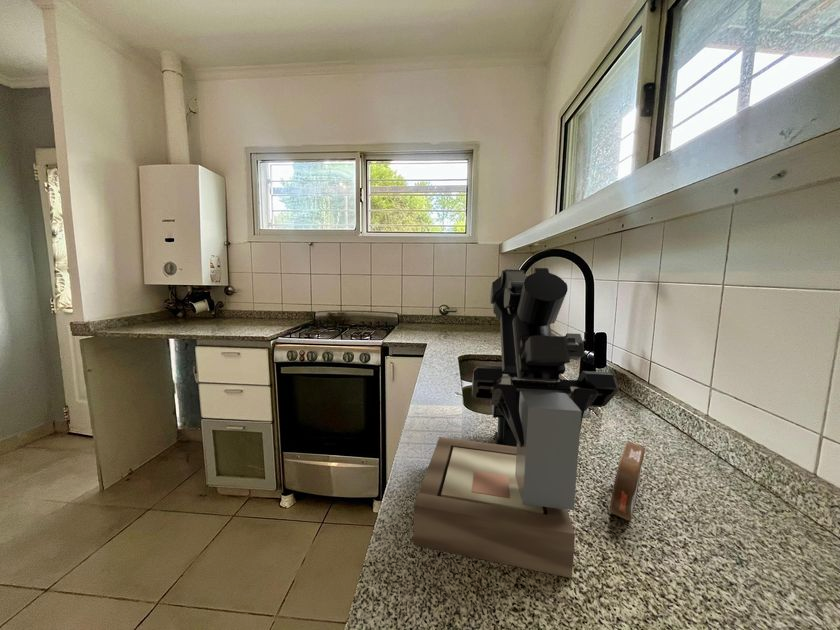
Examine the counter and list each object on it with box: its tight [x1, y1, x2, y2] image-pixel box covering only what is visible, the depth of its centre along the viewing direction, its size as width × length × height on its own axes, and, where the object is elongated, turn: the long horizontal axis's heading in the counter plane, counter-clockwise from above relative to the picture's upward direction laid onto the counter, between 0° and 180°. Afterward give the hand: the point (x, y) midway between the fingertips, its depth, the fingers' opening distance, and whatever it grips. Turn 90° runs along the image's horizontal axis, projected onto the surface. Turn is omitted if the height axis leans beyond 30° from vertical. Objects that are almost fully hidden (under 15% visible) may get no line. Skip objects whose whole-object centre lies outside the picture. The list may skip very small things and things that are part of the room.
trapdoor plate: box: [441, 447, 543, 514], centre depth 48 cm, size 13×13×1 cm
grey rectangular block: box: [515, 390, 582, 511], centre depth 41 cm, size 6×6×12 cm
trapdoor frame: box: [412, 436, 576, 579], centre depth 48 cm, size 19×19×6 cm
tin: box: [609, 440, 646, 521], centre depth 50 cm, size 15×3×8 cm, turn 141°
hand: (547, 448), depth 40 cm, fingers closed on grey rectangular block, 6 cm apart
